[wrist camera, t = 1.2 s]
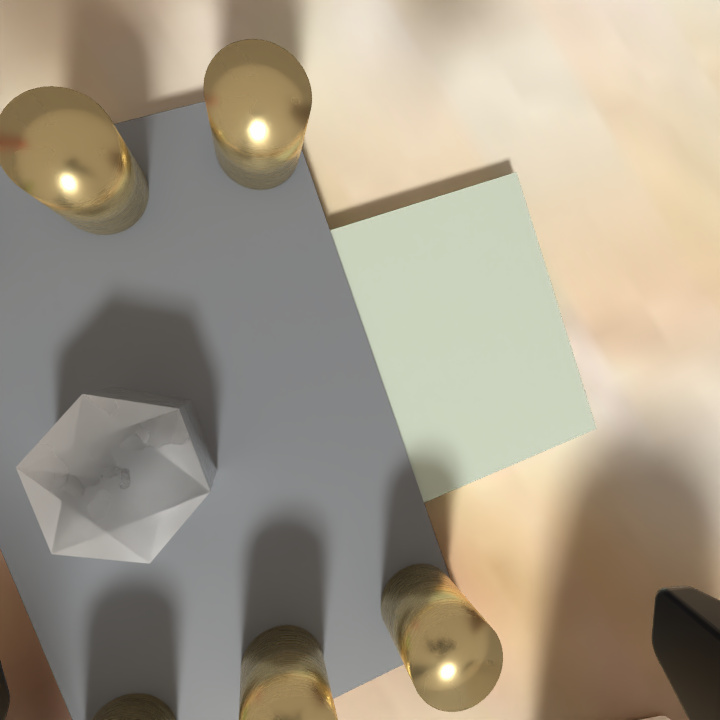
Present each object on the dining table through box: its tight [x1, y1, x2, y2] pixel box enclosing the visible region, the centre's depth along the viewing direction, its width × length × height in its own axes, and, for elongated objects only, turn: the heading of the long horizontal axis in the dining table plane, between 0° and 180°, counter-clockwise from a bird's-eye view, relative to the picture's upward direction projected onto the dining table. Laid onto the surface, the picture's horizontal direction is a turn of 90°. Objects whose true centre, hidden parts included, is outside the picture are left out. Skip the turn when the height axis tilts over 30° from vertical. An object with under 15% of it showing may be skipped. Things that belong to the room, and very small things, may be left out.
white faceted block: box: [16, 387, 217, 564], centre depth 16 cm, size 5×5×3 cm
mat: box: [330, 172, 597, 503], centre depth 21 cm, size 8×11×1 cm
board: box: [0, 101, 451, 720], centre depth 19 cm, size 14×22×1 cm, turn 19°
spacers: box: [0, 39, 503, 720], centre depth 16 cm, size 14×21×4 cm, turn 19°
